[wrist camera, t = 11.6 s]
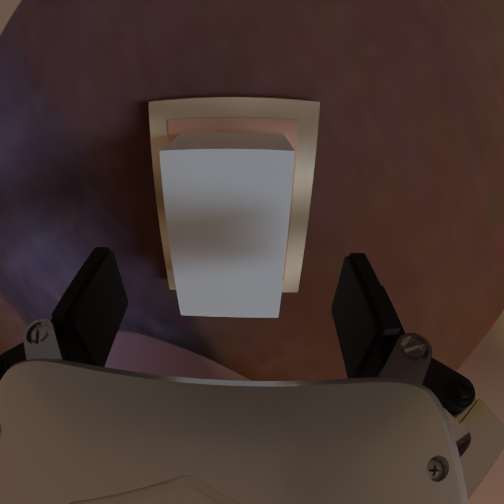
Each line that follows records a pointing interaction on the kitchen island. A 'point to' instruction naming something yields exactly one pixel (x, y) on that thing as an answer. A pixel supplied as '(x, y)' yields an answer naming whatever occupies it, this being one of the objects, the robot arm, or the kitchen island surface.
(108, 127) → the kitchen island surface
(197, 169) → the block
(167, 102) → the pin block
